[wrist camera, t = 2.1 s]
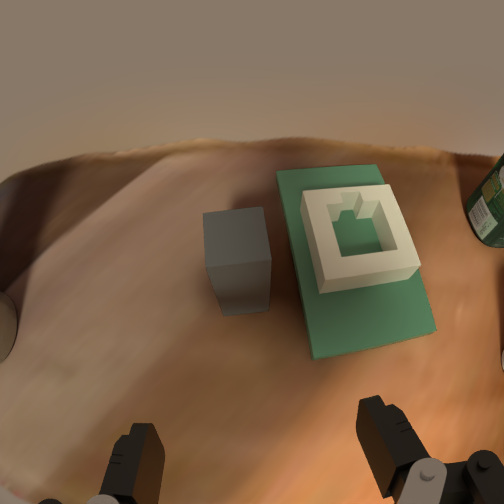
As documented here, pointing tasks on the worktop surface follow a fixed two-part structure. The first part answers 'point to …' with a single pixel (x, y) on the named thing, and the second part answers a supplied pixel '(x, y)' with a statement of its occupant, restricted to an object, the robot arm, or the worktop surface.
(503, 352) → the photo printer
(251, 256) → the plug
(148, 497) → the robot arm
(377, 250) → the header board
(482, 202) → the coffee jar
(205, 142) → the worktop surface
